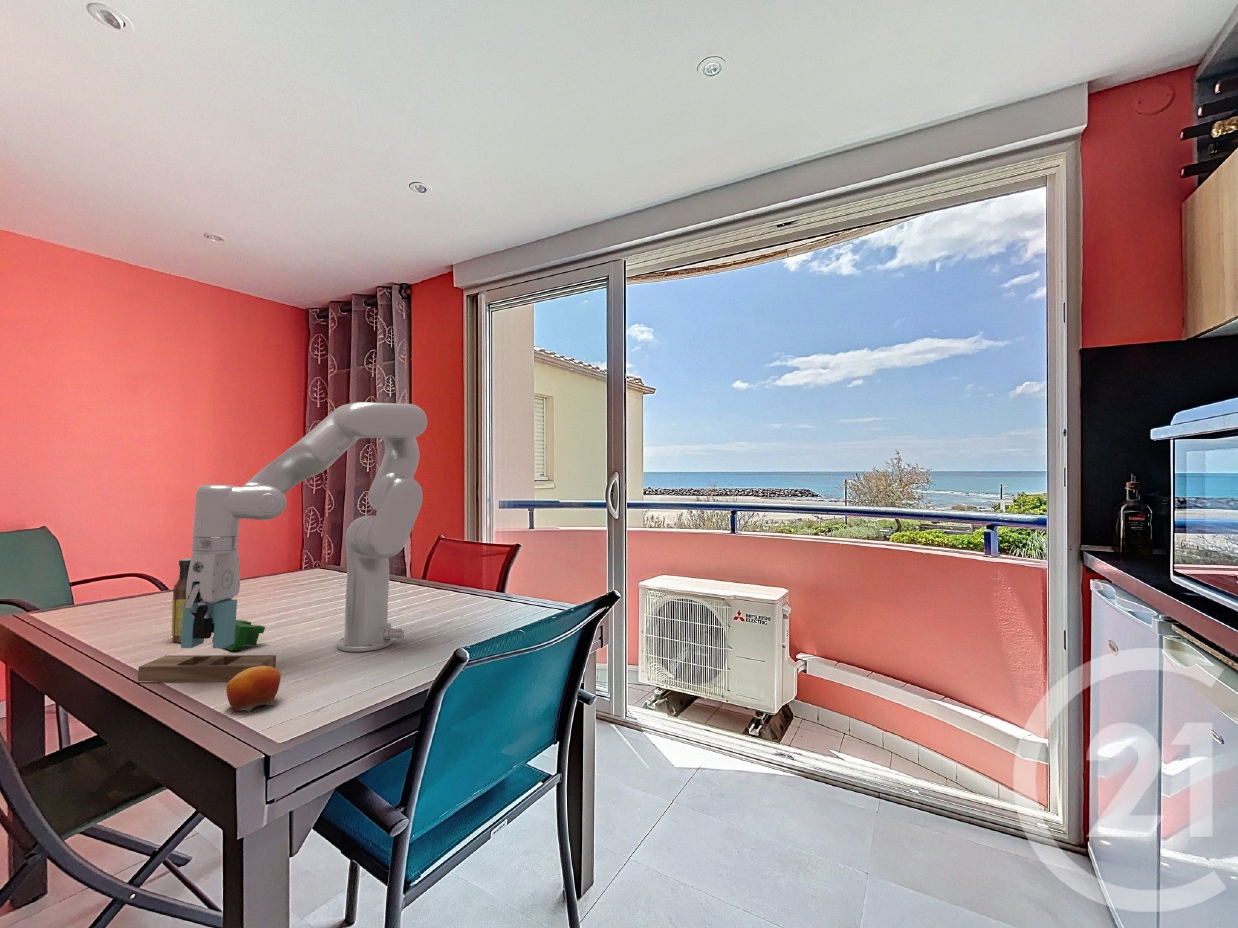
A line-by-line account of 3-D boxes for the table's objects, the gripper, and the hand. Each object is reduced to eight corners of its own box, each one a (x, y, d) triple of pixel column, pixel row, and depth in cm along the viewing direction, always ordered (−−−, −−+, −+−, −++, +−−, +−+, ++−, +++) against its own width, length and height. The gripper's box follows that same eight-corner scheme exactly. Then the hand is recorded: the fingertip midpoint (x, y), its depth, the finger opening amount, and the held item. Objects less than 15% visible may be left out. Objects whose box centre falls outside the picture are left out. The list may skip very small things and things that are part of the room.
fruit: (244, 713, 90) (235, 666, 92) (224, 727, 93) (216, 682, 96) (295, 697, 97) (284, 654, 99) (274, 711, 100) (265, 669, 103)
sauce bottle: (209, 638, 135) (213, 558, 136) (182, 644, 129) (186, 561, 130) (191, 635, 137) (195, 556, 138) (163, 641, 131) (168, 559, 132)
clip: (193, 642, 111) (196, 598, 112) (234, 643, 112) (237, 599, 112) (180, 647, 108) (184, 602, 108) (223, 648, 108) (226, 603, 109)
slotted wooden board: (164, 669, 112) (165, 655, 113) (275, 669, 114) (276, 655, 114) (137, 682, 106) (138, 666, 106) (256, 681, 107) (256, 666, 107)
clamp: (251, 665, 129) (270, 631, 129) (224, 665, 124) (243, 630, 124) (235, 636, 136) (253, 604, 136) (209, 636, 131) (227, 603, 131)
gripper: (207, 549, 103) (200, 647, 102) (258, 541, 119) (252, 625, 119) (165, 548, 102) (158, 646, 101) (222, 540, 119) (216, 624, 118)
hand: (209, 634), depth 110 cm, fingers closed on clip, 3 cm apart
